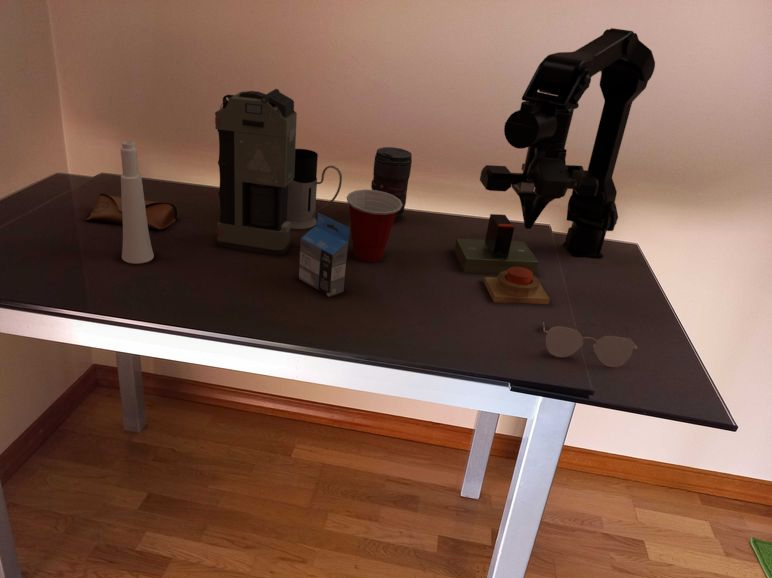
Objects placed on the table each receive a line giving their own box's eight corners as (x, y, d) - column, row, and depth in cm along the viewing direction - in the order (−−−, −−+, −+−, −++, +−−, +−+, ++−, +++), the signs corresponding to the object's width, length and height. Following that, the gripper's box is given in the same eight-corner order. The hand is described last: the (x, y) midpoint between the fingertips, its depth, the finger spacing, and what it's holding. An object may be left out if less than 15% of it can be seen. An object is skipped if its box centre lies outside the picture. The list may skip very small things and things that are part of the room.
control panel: (520, 253, 144) (523, 239, 143) (535, 277, 135) (539, 262, 133) (453, 250, 144) (455, 236, 142) (464, 274, 134) (467, 259, 133)
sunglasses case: (82, 219, 147) (87, 188, 147) (97, 225, 154) (102, 195, 154) (163, 230, 144) (168, 198, 144) (174, 235, 151) (179, 205, 151)
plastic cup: (367, 272, 133) (374, 212, 126) (330, 253, 140) (334, 195, 133) (406, 259, 139) (414, 201, 133) (369, 241, 146) (375, 185, 139)
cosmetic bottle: (145, 248, 137) (136, 136, 125) (159, 259, 133) (151, 144, 121) (116, 255, 134) (104, 140, 122) (129, 266, 130) (118, 149, 118)
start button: (526, 275, 129) (528, 267, 128) (533, 286, 125) (535, 277, 124) (503, 274, 129) (505, 266, 128) (509, 285, 125) (511, 276, 124)
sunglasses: (538, 353, 110) (545, 324, 108) (537, 335, 118) (544, 308, 116) (631, 370, 107) (640, 341, 105) (624, 351, 115) (632, 323, 113)
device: (293, 243, 143) (299, 91, 127) (282, 258, 136) (287, 99, 121) (228, 233, 146) (227, 83, 130) (215, 247, 139) (211, 91, 124)
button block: (535, 284, 132) (539, 270, 130) (548, 304, 125) (552, 289, 123) (483, 282, 132) (486, 268, 130) (493, 302, 125) (496, 287, 123)
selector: (484, 242, 141) (490, 212, 137) (499, 242, 141) (505, 213, 137) (492, 256, 135) (499, 226, 131) (508, 257, 135) (514, 226, 131)
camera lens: (392, 227, 153) (400, 159, 145) (362, 217, 157) (368, 151, 149) (410, 217, 159) (419, 151, 151) (381, 208, 163) (387, 144, 155)
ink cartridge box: (297, 279, 129) (300, 216, 122) (313, 274, 131) (317, 211, 124) (328, 297, 123) (333, 232, 117) (345, 292, 125) (350, 227, 119)
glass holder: (288, 211, 158) (291, 145, 150) (345, 224, 153) (351, 156, 145) (270, 223, 152) (271, 155, 144) (329, 237, 147) (334, 167, 139)
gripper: (504, 149, 107) (485, 243, 115) (623, 155, 108) (595, 248, 116) (487, 130, 117) (471, 219, 125) (597, 136, 117) (573, 224, 125)
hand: (527, 227), depth 122 cm, fingers closed
